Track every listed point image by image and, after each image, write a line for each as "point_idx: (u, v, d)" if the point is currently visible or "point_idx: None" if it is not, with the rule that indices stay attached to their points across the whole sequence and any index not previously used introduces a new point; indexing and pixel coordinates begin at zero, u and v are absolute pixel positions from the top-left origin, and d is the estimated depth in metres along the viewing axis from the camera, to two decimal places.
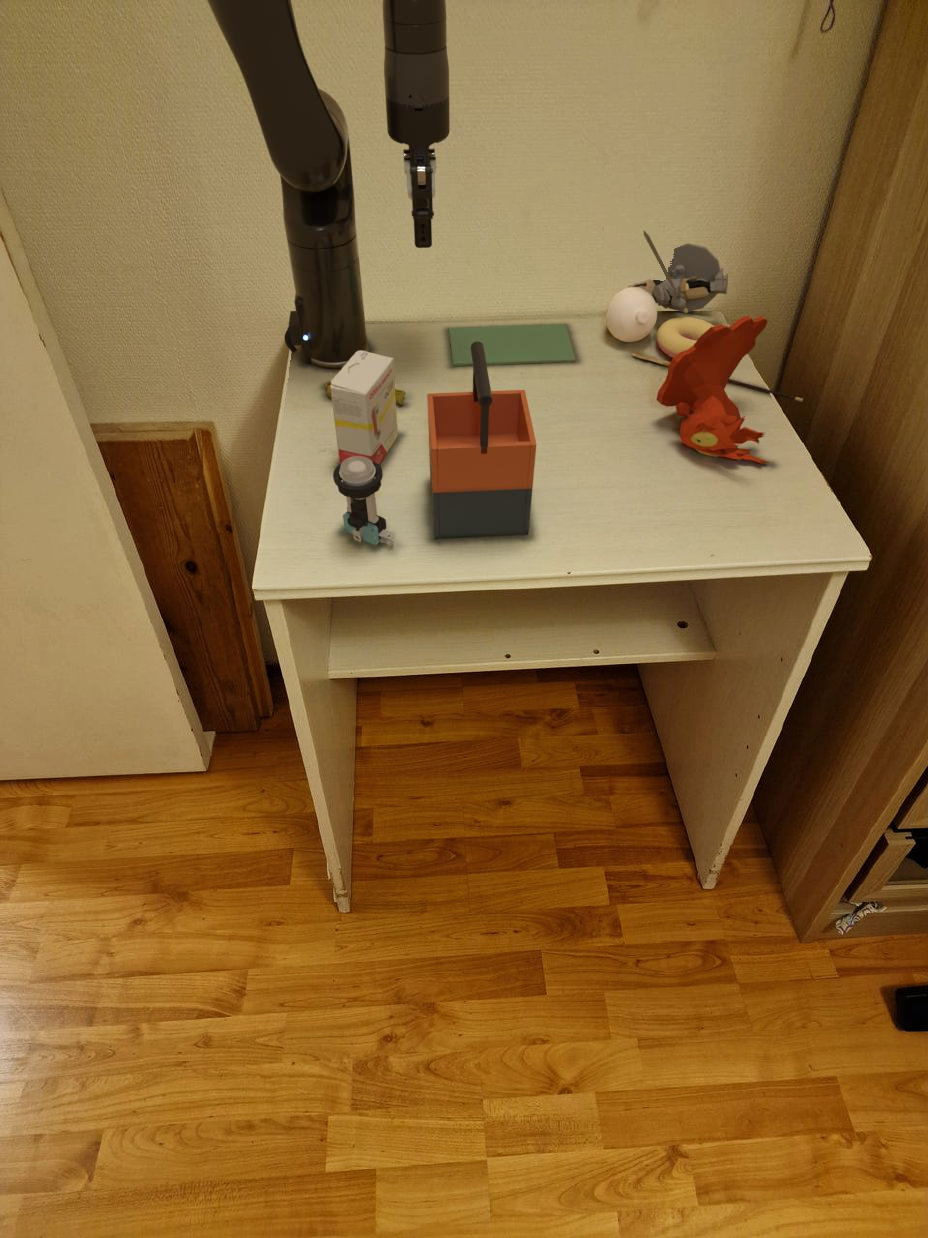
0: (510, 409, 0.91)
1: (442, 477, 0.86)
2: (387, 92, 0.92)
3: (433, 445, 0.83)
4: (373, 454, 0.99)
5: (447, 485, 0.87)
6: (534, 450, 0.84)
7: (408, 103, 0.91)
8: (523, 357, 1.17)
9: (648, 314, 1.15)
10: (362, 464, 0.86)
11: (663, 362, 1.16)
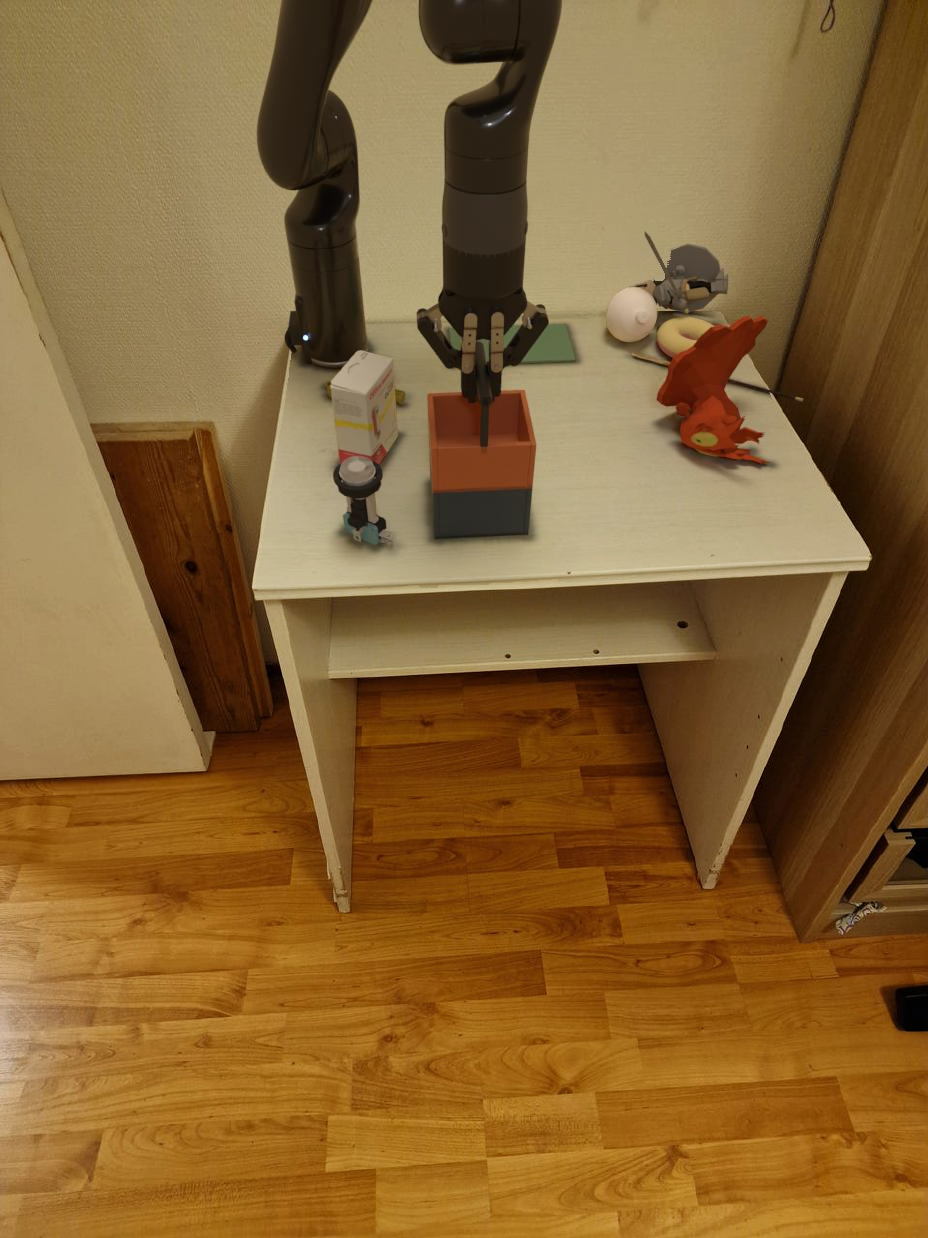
0: (510, 409, 0.91)
1: (442, 477, 0.86)
2: None
3: (433, 445, 0.83)
4: (373, 454, 0.99)
5: (447, 485, 0.87)
6: (534, 450, 0.84)
7: None
8: None
9: (648, 314, 1.15)
10: (362, 464, 0.86)
11: (663, 362, 1.16)
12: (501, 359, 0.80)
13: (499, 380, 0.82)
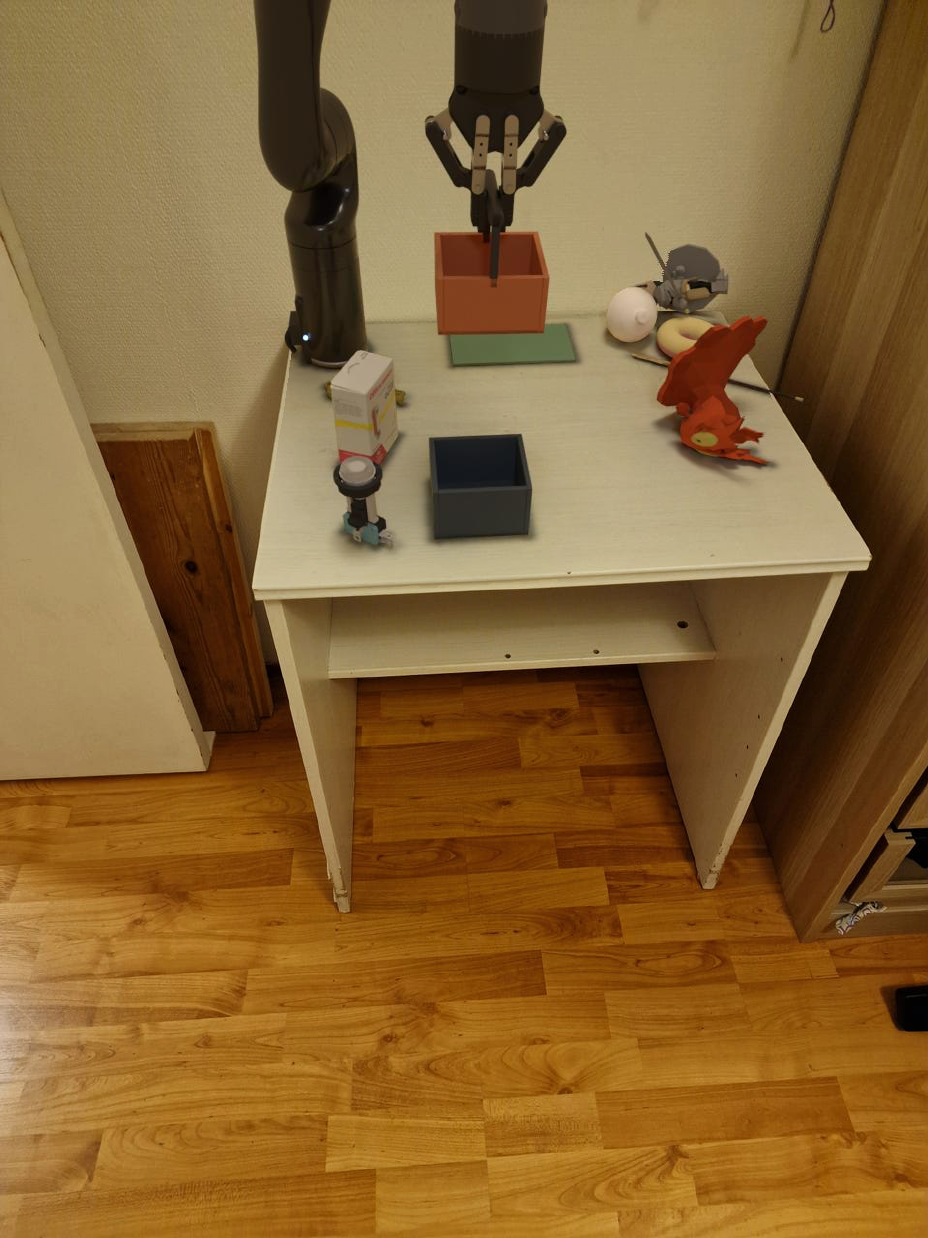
0: (522, 254, 0.86)
1: (448, 315, 0.81)
2: None
3: (439, 276, 0.78)
4: (373, 454, 0.99)
5: (453, 326, 0.82)
6: (547, 285, 0.79)
7: None
8: (523, 357, 1.17)
9: (648, 314, 1.15)
10: (362, 464, 0.86)
11: (663, 362, 1.16)
12: (514, 177, 0.75)
13: (511, 205, 0.77)
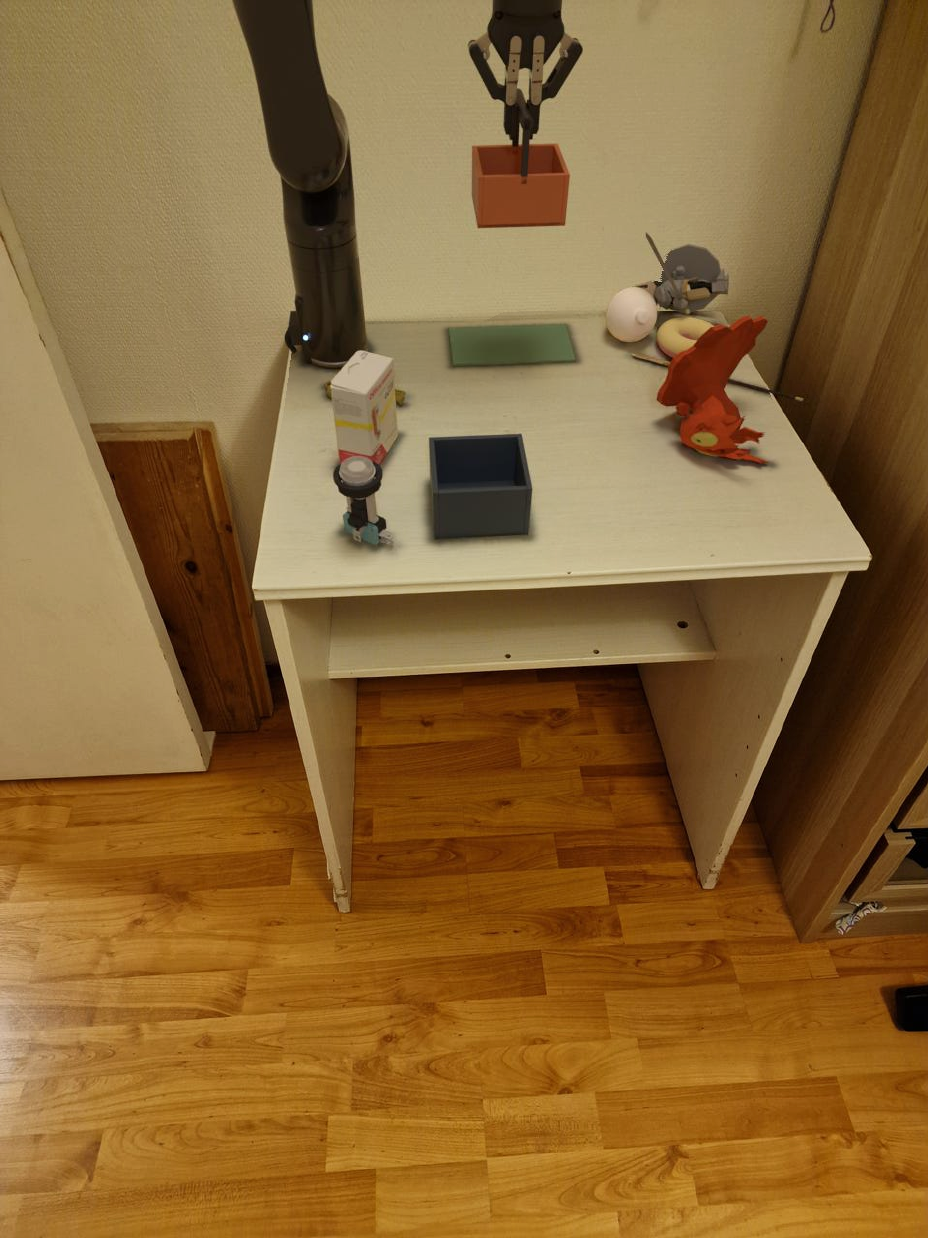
0: (544, 163, 1.03)
1: (486, 210, 0.98)
2: None
3: (480, 175, 0.95)
4: (373, 454, 0.99)
5: (490, 219, 0.99)
6: (568, 181, 0.96)
7: None
8: (523, 357, 1.17)
9: (648, 314, 1.15)
10: (362, 464, 0.86)
11: (663, 362, 1.16)
12: (540, 90, 0.92)
13: (537, 115, 0.94)
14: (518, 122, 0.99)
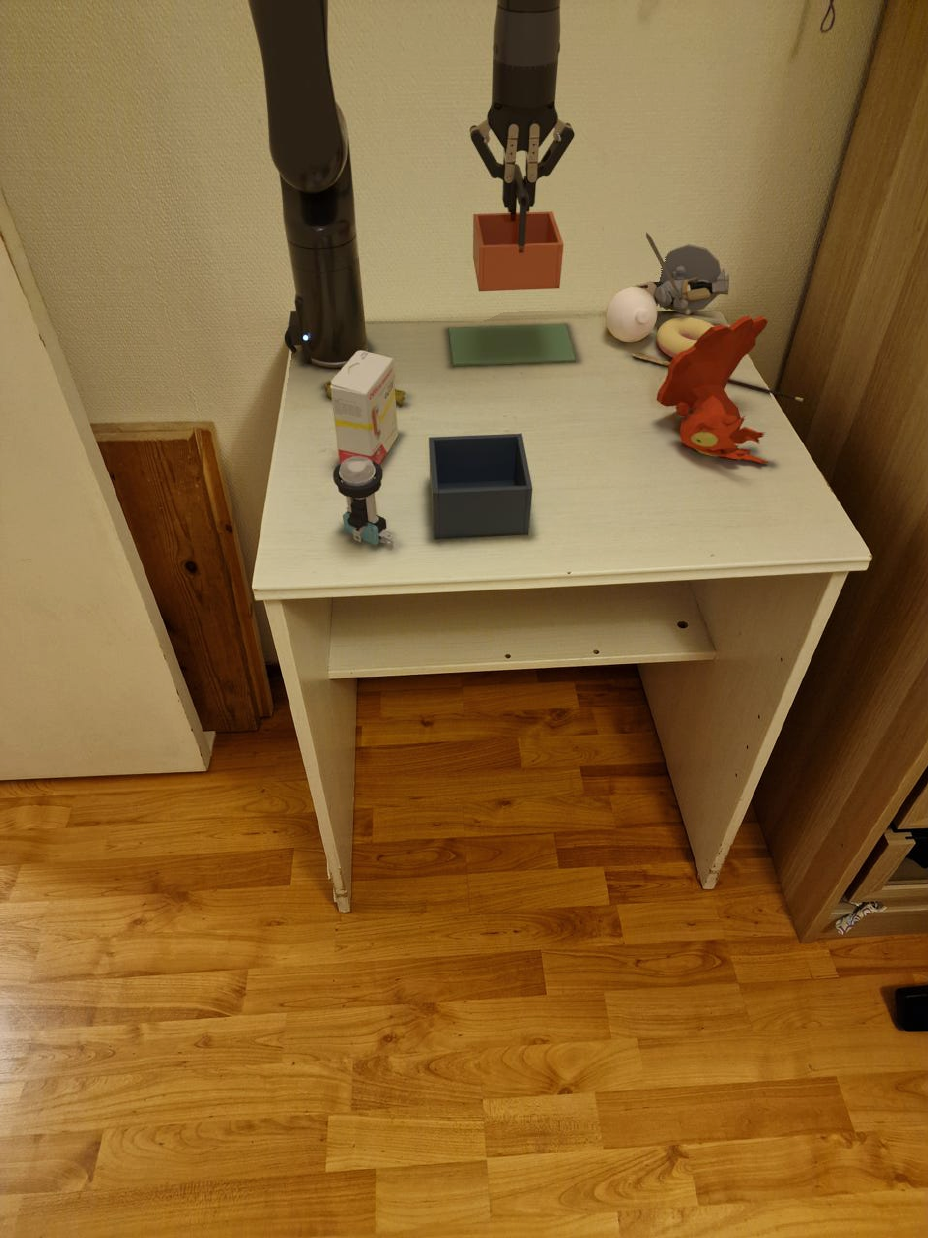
0: (540, 229, 1.12)
1: (487, 275, 1.07)
2: None
3: (481, 245, 1.04)
4: (373, 454, 0.99)
5: (490, 283, 1.07)
6: (561, 250, 1.05)
7: None
8: (523, 357, 1.17)
9: (648, 314, 1.15)
10: (362, 464, 0.86)
11: (663, 362, 1.16)
12: (536, 169, 1.01)
13: (533, 190, 1.03)
14: (516, 193, 1.08)
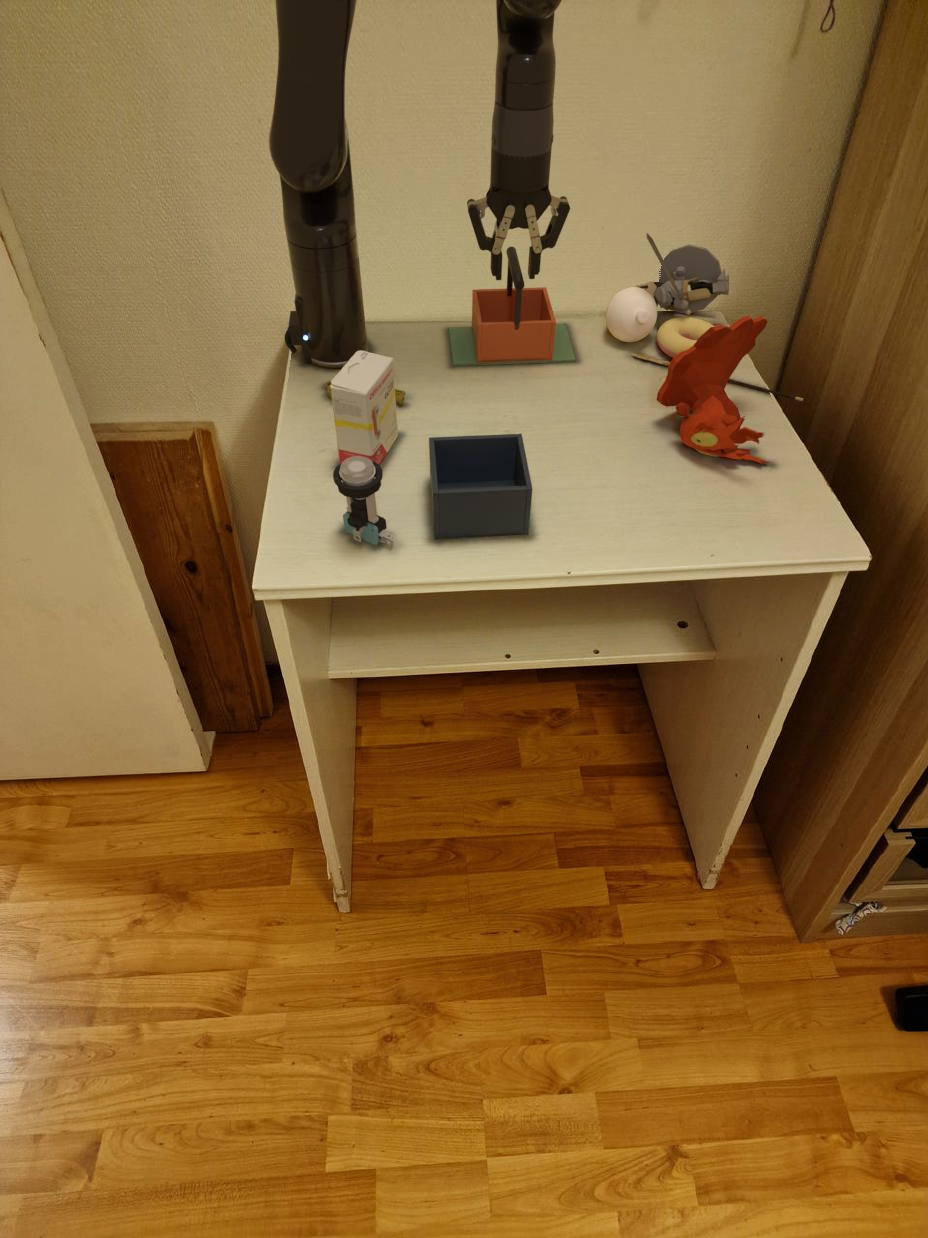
0: (535, 303, 1.20)
1: (485, 349, 1.15)
2: None
3: (479, 322, 1.12)
4: (373, 454, 0.99)
5: (488, 356, 1.16)
6: (554, 327, 1.13)
7: (491, 140, 1.00)
8: None
9: (648, 314, 1.15)
10: (362, 464, 0.86)
11: (663, 362, 1.16)
12: (539, 241, 1.07)
13: (539, 260, 1.10)
14: None
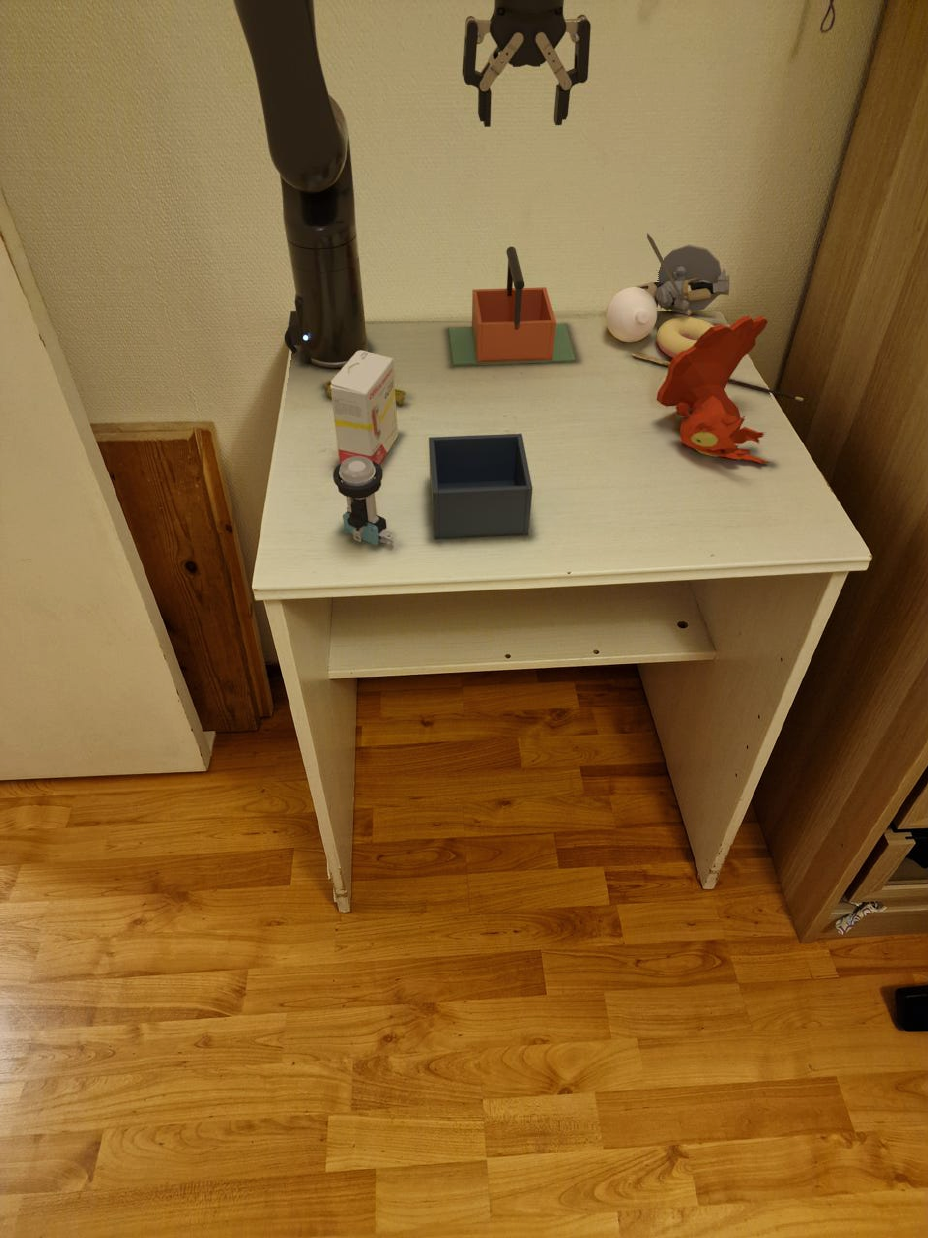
0: (535, 303, 1.20)
1: (485, 349, 1.15)
2: None
3: (479, 322, 1.12)
4: (373, 454, 0.99)
5: (488, 356, 1.16)
6: (554, 327, 1.13)
7: None
8: None
9: (648, 314, 1.15)
10: (362, 464, 0.86)
11: (663, 362, 1.16)
12: (566, 74, 0.91)
13: (567, 100, 0.94)
14: None
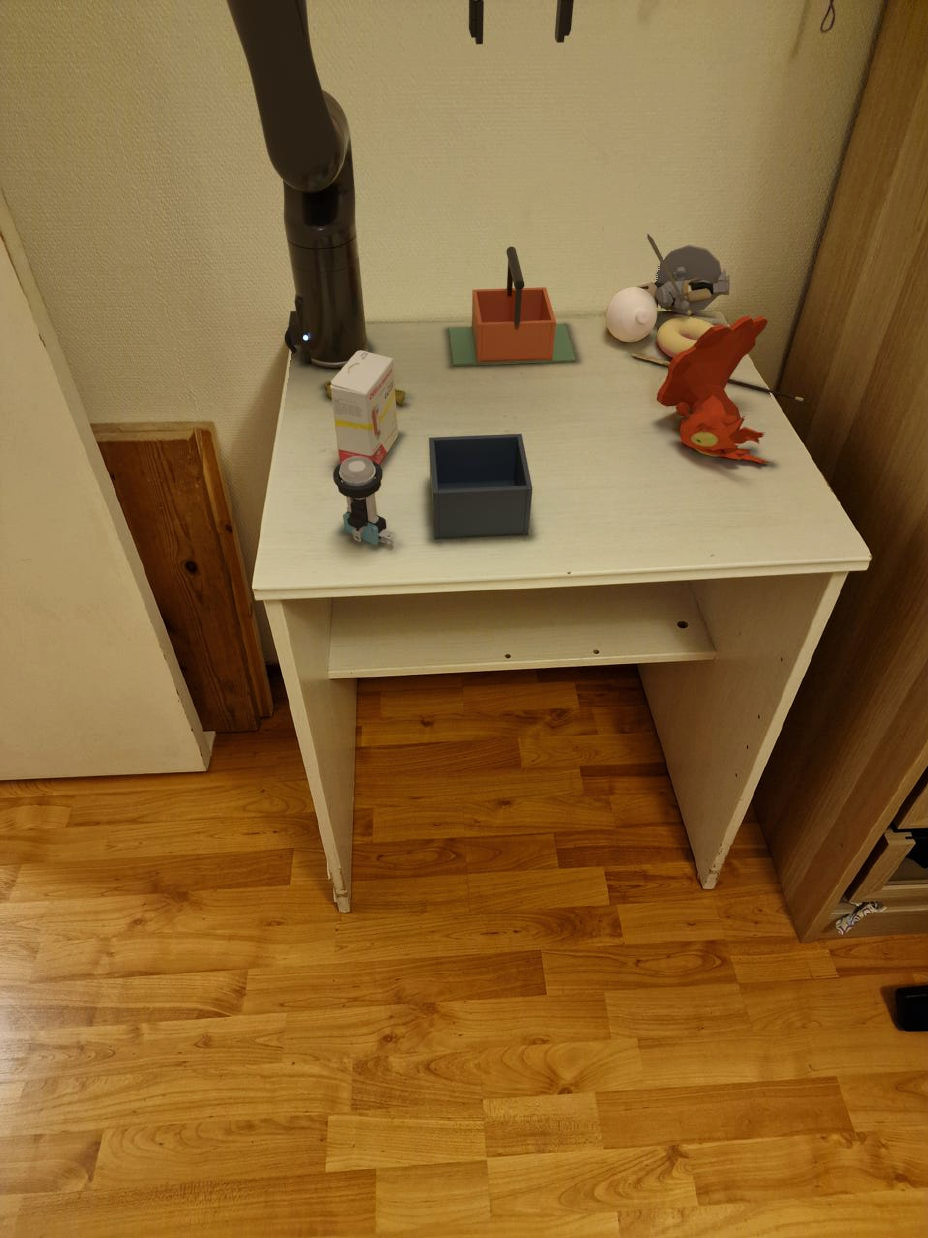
0: (535, 303, 1.20)
1: (485, 349, 1.15)
2: None
3: (479, 322, 1.12)
4: (373, 454, 0.99)
5: (488, 356, 1.16)
6: (554, 327, 1.13)
7: None
8: None
9: (648, 314, 1.15)
10: (362, 464, 0.86)
11: (663, 362, 1.16)
12: None
13: (570, 12, 0.82)
14: None
